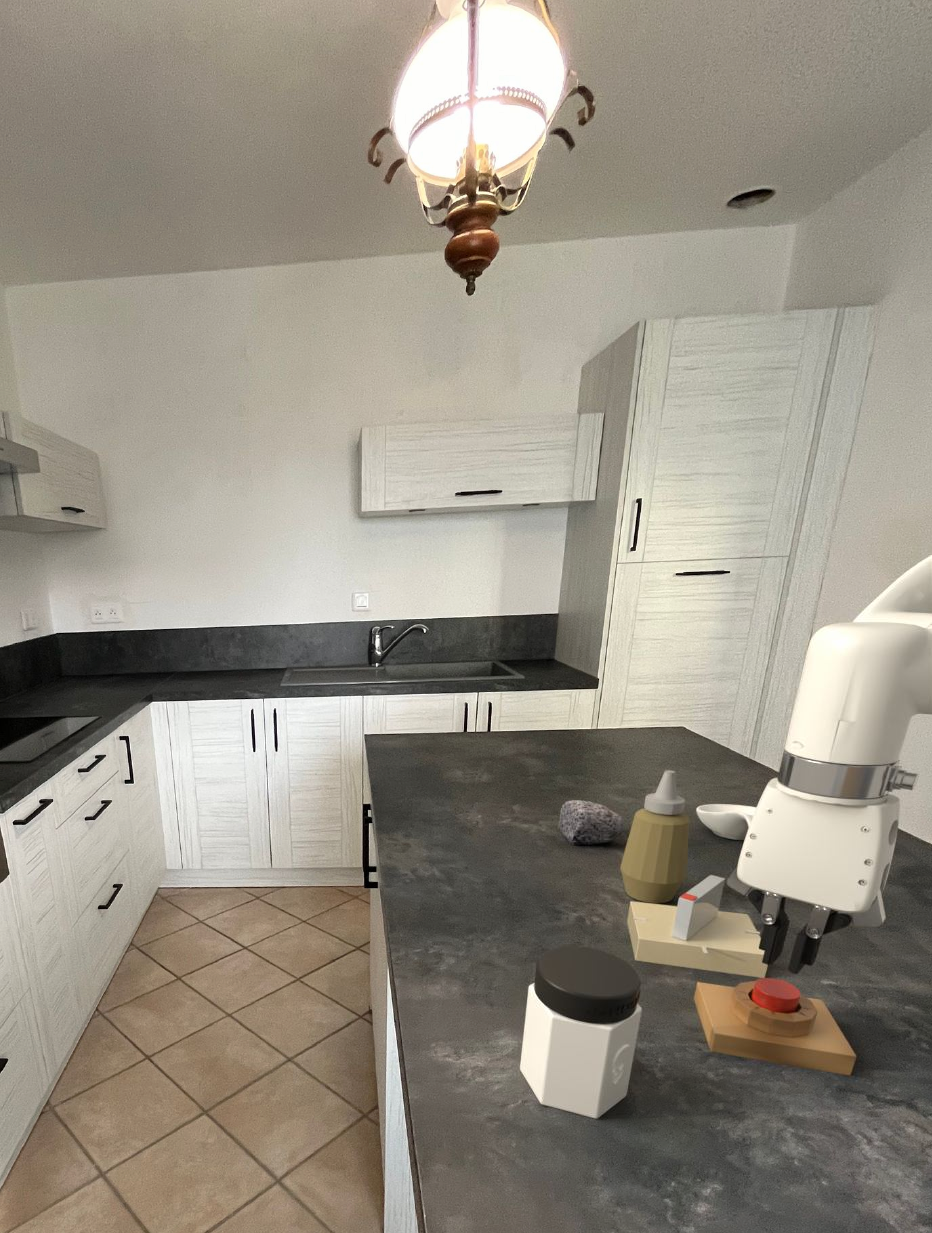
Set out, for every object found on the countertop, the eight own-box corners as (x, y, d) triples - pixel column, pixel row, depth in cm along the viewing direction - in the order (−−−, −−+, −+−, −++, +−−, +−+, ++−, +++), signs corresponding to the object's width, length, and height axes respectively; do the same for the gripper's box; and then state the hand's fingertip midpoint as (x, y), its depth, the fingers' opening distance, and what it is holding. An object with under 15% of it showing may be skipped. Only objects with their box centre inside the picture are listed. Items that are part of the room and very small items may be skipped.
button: (789, 996, 67) (794, 981, 66) (801, 1017, 64) (806, 1002, 63) (747, 990, 68) (750, 975, 67) (756, 1011, 65) (760, 995, 64)
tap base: (740, 929, 86) (746, 907, 85) (769, 986, 74) (776, 961, 73) (625, 915, 90) (628, 894, 89) (635, 967, 79) (639, 943, 78)
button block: (817, 1017, 69) (826, 984, 68) (850, 1076, 61) (862, 1039, 60) (693, 999, 73) (700, 966, 71) (710, 1052, 65) (718, 1017, 64)
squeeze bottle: (617, 879, 101) (635, 761, 94) (680, 888, 97) (703, 766, 91) (615, 902, 94) (635, 777, 87) (682, 912, 90) (708, 783, 84)
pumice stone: (609, 846, 118) (552, 824, 121) (629, 806, 115) (570, 785, 118) (609, 867, 109) (547, 843, 112) (630, 825, 106) (566, 802, 109)
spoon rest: (687, 818, 122) (694, 780, 120) (763, 824, 119) (772, 785, 116) (715, 871, 102) (725, 826, 99) (809, 880, 98) (822, 833, 95)
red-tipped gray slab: (703, 911, 84) (711, 872, 83) (717, 915, 83) (725, 876, 81) (671, 936, 79) (679, 895, 77) (686, 941, 78) (694, 900, 76)
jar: (583, 1134, 56) (602, 1012, 52) (502, 1079, 63) (513, 967, 58) (642, 1087, 61) (664, 972, 57) (561, 1041, 67) (575, 934, 63)
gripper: (967, 784, 54) (900, 982, 61) (745, 751, 65) (709, 921, 72) (949, 806, 50) (879, 1017, 56) (714, 767, 61) (679, 946, 68)
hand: (784, 962), depth 64 cm, fingers closed
